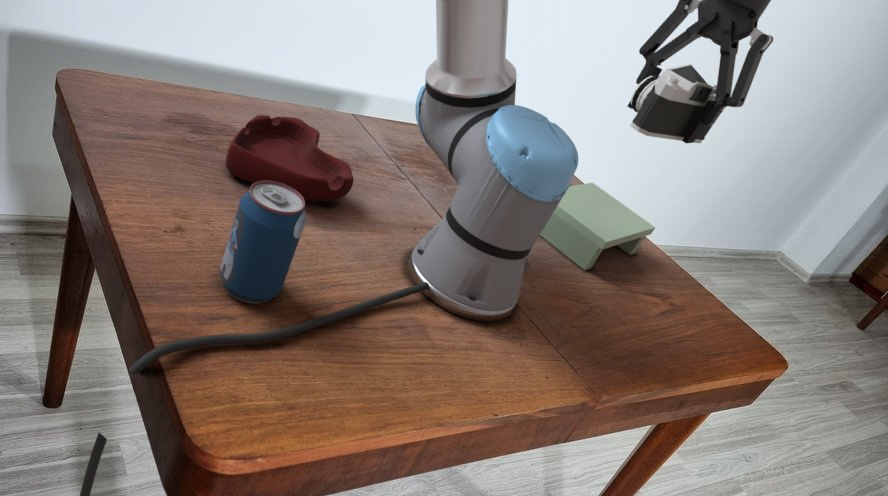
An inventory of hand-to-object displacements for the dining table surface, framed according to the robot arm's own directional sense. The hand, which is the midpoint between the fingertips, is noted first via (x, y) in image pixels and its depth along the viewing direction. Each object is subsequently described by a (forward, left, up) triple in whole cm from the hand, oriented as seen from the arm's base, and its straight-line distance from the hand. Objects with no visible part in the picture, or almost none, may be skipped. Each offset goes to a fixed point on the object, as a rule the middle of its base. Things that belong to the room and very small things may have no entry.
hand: (659, 124), depth 106 cm
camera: (0, 0, -1) cm, 1 cm away
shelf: (+2, +2, -23) cm, 23 cm away
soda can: (-63, +8, -23) cm, 67 cm away
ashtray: (-45, +28, -23) cm, 58 cm away
